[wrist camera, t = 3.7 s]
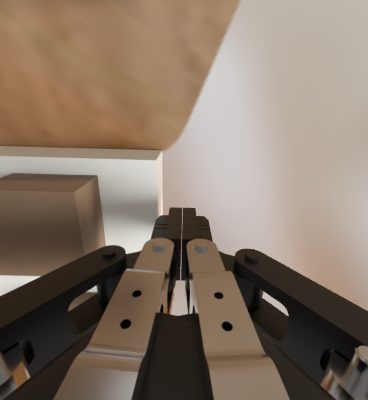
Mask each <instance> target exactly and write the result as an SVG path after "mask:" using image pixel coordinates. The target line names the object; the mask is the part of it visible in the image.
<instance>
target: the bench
mask: <svg viewBox="0 0 368 400" xmlns="http://www.w3.org/2000/svg"><path fill="white" fill-rule="evenodd" d="M12 173H27V174H64V175H98V184H99V192H100V200H101V209H102V217H103V225H104V233H105V242H106V246H109V245H117V246H121V247H123V248H124V249H125V251H126V254H128V253H134V252H138V251H141V250H142V248H143V246H144V244H145V243H146V242H147V241H148V240H150V239H151V235H152V232H153V229H154V225H155V221H156V219H157V218H158V217H159V216H160V215H163V203H162V202H163V201H162V200H163V199H162V150H129V149H92V148H56V147H19V146H0V178H1V177H4V176H7V175H10V174H12ZM39 277H41V276H9V275H0V296H2V295H4V294H6V293H8V292H10V291H12V290H14V289H16V288H18V287H20V286H22V285H24V284H26V283H29V282H31V281H33V280H35V279H37V278H39ZM87 292H97V287H96V286H95V287H93V288H92V289H90V290H88V291H87Z"/></svg>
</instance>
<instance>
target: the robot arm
mask: <svg viewBox="0 0 368 400" xmlns="http://www.w3.org/2000/svg"><path fill="white" fill-rule="evenodd" d="M181 233H182V269H181V280H184V281H185V299H186V310H187V314H186V315H182V316H174V315H170V314H171V308H172V302H173V296H174V287H175V282H176V280H180V263H181ZM95 286H96V287H97V294H95V295H94V296H92V297H90V298H89V299H87V300H86V301H84V302H83V303H81V304H80V305H78V306H76V307H75V308H73V309H72V310H70V311H68V309H69V306H70V304H71V303H72V301H73V300H74V299H76V298H77V297H79V296H80V295H82V294H83V293H85V292H87V291H88V290H90V289H92V288H93V287H95ZM263 291H264V292H266V293H267V294H268V295H270V296H271V297H273V298H274V299H276V300H277V301H279V302H280V303H281V304H283V305H284V307H285V308H286V309H287V311H288V314H289V317H288V316H287V315H285V314H284V313H283V312H281V311H280V310H278V309H277V308H276V307H274V306H273V305H272V304H270V303H269V302H267V301H266V300H265V299H263V298H262V295H263ZM0 400H368V311H366V310H365V309H363V308H361V307H359V306H357V305H355V304H354V303H352V302H350V301H348V300H346V299H345V298H343V297H341V296H339V295H338V294H336V293H334V292H332V291H330V290H328V289H326V288H325V287H323V286H321V285H319V284H318V283H316V282H314V281H312V280H310V279H309V278H307V277H305V276H303V275H301V274H299V273H298V272H296V271H294V270H292V269H290V268H289V267H287V266H285V265H283V264H281V263H280V262H278V261H276V260H274V259H272V258H271V257H269V256H267V255H265V254H263V253H261V252H260V251H257V250H254V249H241V250H239V251H237V252H236V254H235V256H231V255H227V254H224V253H222V252H220V251H218V248H217V246H216V244H215V243H213V241H212V236H211V231H210V226H209V221H208V220H207V219H206V218H205V217H204V216H196V211H195V208H183V229H182V208H170V210H169V215H160V216H159V217H158V218H157V219H156V221H155V225H154V229H153V232H152V235H151V239H150V240H148V241H147V242H146V243H145V244H144V246H143V248H142V250H141V251H138V252H134V253H128V254H126V251H125V249H124V248H123V247H121V246H117V245H109V246H104V247H101V248H99V249H97V250H95V251H93V252H91V253H89V254H87V255H84V256H82V257H80V258H78V259H76V260H74V261H72V262H70V263H68V264H66V265H64V266H62V267H60V268H58V269H55V270H53V271H51V272H49V273H47V274H45V275H43V276H41V277H39V278H37V279H35V280H33V281H31V282H29V283H26V284H24V285H22V286H20V287H18V288H16V289H14V290H12V291H10V292H8V293H6V294H4V295H2V296H0Z"/></svg>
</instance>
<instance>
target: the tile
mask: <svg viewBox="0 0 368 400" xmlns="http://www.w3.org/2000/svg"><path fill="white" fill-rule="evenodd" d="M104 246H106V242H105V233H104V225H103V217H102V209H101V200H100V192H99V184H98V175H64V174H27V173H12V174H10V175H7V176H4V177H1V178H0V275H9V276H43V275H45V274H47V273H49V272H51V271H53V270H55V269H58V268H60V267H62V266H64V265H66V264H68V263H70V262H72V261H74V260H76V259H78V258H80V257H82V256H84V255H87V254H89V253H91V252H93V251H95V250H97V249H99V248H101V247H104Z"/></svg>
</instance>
